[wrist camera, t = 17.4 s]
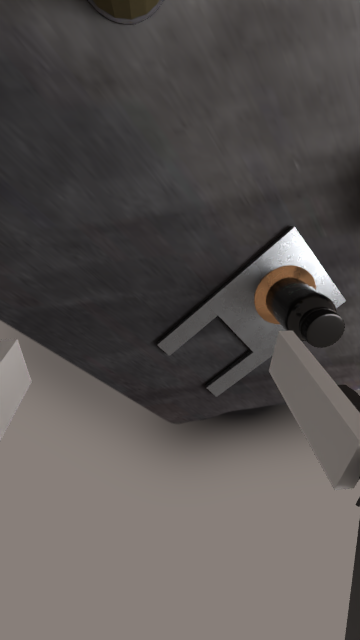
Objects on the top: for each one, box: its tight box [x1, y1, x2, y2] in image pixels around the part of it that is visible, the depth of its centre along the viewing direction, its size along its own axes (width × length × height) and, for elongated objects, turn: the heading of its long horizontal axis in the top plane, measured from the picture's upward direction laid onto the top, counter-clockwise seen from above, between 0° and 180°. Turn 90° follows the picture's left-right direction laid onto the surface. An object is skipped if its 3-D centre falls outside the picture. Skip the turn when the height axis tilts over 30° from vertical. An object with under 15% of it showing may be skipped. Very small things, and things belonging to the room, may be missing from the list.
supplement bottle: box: [266, 277, 345, 348], centre depth 39 cm, size 7×7×12 cm
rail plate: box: [157, 226, 346, 397], centre depth 47 cm, size 28×16×1 cm, turn 133°
